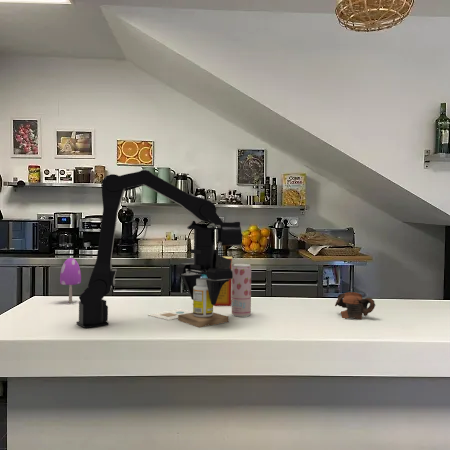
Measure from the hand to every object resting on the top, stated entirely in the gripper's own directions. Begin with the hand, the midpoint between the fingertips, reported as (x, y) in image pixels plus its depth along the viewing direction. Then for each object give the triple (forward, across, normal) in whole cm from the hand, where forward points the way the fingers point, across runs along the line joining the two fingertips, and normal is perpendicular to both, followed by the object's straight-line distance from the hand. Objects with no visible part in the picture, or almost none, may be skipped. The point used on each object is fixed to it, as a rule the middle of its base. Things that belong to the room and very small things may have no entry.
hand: (203, 302), depth 118 cm
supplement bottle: (+4, 0, 0) cm, 4 cm away
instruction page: (+5, +12, +2) cm, 13 cm away
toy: (+6, +48, +20) cm, 52 cm away
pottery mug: (+6, -22, -40) cm, 46 cm away
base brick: (+5, 0, 0) cm, 5 cm away
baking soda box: (+6, +18, -21) cm, 28 cm away
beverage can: (+6, 0, -14) cm, 15 cm away
